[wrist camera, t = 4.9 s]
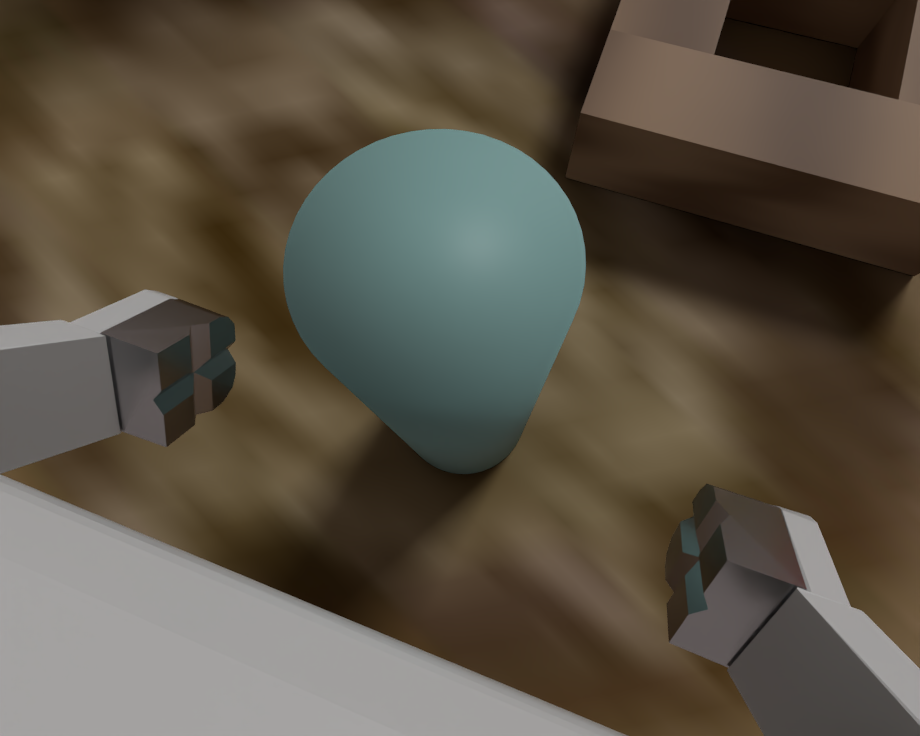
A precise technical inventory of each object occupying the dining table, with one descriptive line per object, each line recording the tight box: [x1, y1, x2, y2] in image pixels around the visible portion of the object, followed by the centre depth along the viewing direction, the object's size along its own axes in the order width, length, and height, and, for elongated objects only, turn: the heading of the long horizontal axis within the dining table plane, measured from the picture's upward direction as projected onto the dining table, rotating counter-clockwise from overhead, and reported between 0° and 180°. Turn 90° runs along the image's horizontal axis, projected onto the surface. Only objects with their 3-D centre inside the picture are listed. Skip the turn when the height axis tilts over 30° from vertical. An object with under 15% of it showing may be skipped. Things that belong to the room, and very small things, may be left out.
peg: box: [283, 129, 586, 474], centre depth 11 cm, size 4×4×10 cm
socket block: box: [565, 0, 920, 276], centre depth 17 cm, size 11×11×3 cm
